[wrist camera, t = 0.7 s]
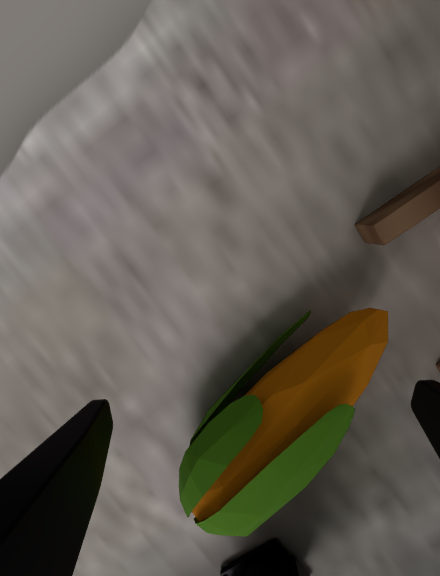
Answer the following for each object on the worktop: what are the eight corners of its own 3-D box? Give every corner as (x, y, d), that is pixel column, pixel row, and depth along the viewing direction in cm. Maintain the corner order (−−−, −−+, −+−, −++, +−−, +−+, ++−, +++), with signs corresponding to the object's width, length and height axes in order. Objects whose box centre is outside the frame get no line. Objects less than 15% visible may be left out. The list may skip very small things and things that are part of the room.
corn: (141, 552, 17) (380, 289, 14) (156, 448, 25) (316, 260, 21) (238, 593, 19) (470, 368, 16) (225, 486, 26) (383, 317, 23)
